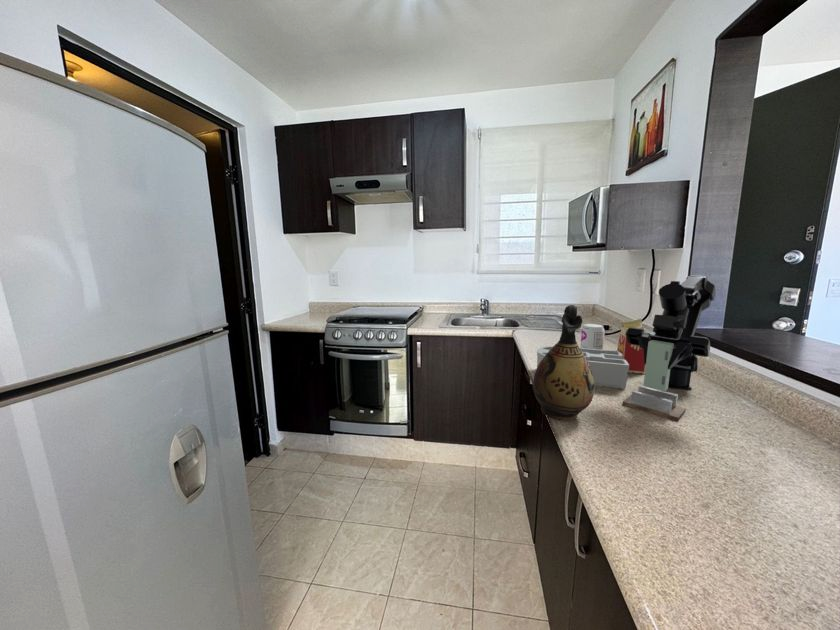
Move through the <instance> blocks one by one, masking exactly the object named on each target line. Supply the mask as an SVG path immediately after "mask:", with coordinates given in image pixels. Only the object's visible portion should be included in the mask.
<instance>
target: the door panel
mask: <svg viewBox="0 0 840 630" xmlns="http://www.w3.org/2000/svg"><path fill="white" fill-rule="evenodd" d="M673 345H674V343H669V342H662V341H656V340H651V341H649V342H648V350H647V359H646V368H645V374H644V380H643V386H645V387H649V388H653V389H657V390H661V391H666V392H667V390H668V389H669V387H668V384H669V376H670V369H668V365H669V361H670V359H671V357H672V353H673Z"/></svg>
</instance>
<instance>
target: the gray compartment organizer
mask: <svg viewBox="0 0 840 630" xmlns="http://www.w3.org/2000/svg"><path fill="white" fill-rule="evenodd" d="M553 346H554V345H548V346H541V347H538V348H537V351H536V357H537V358H536V368H537V367H538V365H539V363H540V362H541V360H542V359H543V358H544V356H545V355H546V354H547V353H548V351H549V350H551V349H552V347H553ZM579 348H580V347H579ZM580 350H581V351H582V353H583V354H584V356H585V358H586V360H587V362H588V364H589V365H590V368H591V371H592V374H593V377H594V385H596V386H595V387H601V386H605V387H604V388H610V387H613V388H612V389H618V388H622V389H621V390H626V387H627V381H628V373H629V372H628V370H629V364H628V363H627V361H626V360H624V359H622V354H621V353H620V351H617V350H610V349H609V350H608V349H603V350H599V349H586V348H580Z"/></svg>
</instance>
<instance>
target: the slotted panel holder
mask: <svg viewBox="0 0 840 630" xmlns="http://www.w3.org/2000/svg"><path fill="white" fill-rule="evenodd" d="M678 399H679V394H678V393H673V392H670V391H669V392H668V391H667V390H666V391H661V390H657V389H653V388H649V387H645V386H644V385H639V386H638V391H637V390H633V391H632V392H631V394H630V395H629V396H627V398H625V399H623V401H622V402H621V403H622V405H623V406H625V405H626V406H625V407H629V408H633V409H636V410H639V411H641V412H645V413H650V414H653V415H656V416H660V417H662V418H666V419H668V420H669V419H670V420H673V421H675V422H679V421H680V419H681V418H682V417H683V415H684V414H685V413H686V410H687V408H686V407H683V406H679V405H678Z"/></svg>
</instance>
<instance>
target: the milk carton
mask: <svg viewBox="0 0 840 630" xmlns="http://www.w3.org/2000/svg"><path fill="white" fill-rule="evenodd" d="M642 321H643V317H640V318H635V319H633V320H624V321H620V323H621V329H620V334H619V336H618V337H619V339H618V343H617V350H616V351H620V353H621V354H622V359H624V360H626V361H627V363H628V364H629V370H628V373H632V372H634V374H640V373H642V374H641V375H645V368H646V364H645V363H644V350H643V348H640V346H638V345H632V344H630V343H628V340H627V337H626V331H627V329H628V328H630V327H632V328H640V329H644V328H643V324H642V323H643V322H642Z"/></svg>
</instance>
